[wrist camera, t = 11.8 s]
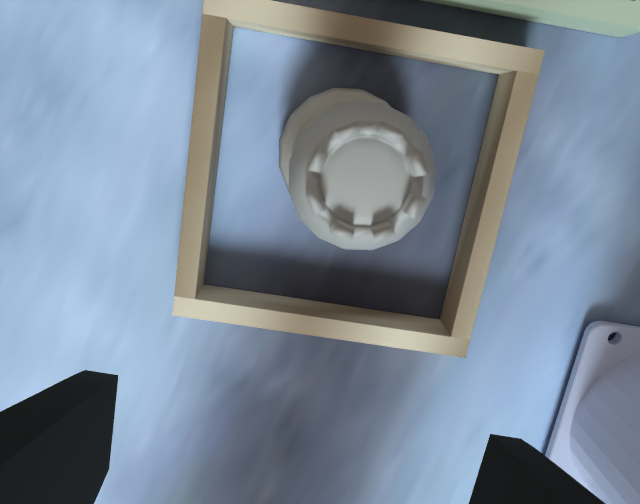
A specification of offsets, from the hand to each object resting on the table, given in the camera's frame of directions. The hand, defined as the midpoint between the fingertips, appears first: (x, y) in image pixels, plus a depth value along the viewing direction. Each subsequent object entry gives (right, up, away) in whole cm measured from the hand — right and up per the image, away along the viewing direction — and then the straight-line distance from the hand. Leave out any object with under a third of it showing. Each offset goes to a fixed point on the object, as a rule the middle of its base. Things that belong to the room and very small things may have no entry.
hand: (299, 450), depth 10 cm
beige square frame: (+1, +6, +9) cm, 11 cm away
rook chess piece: (+1, +7, +8) cm, 11 cm away
